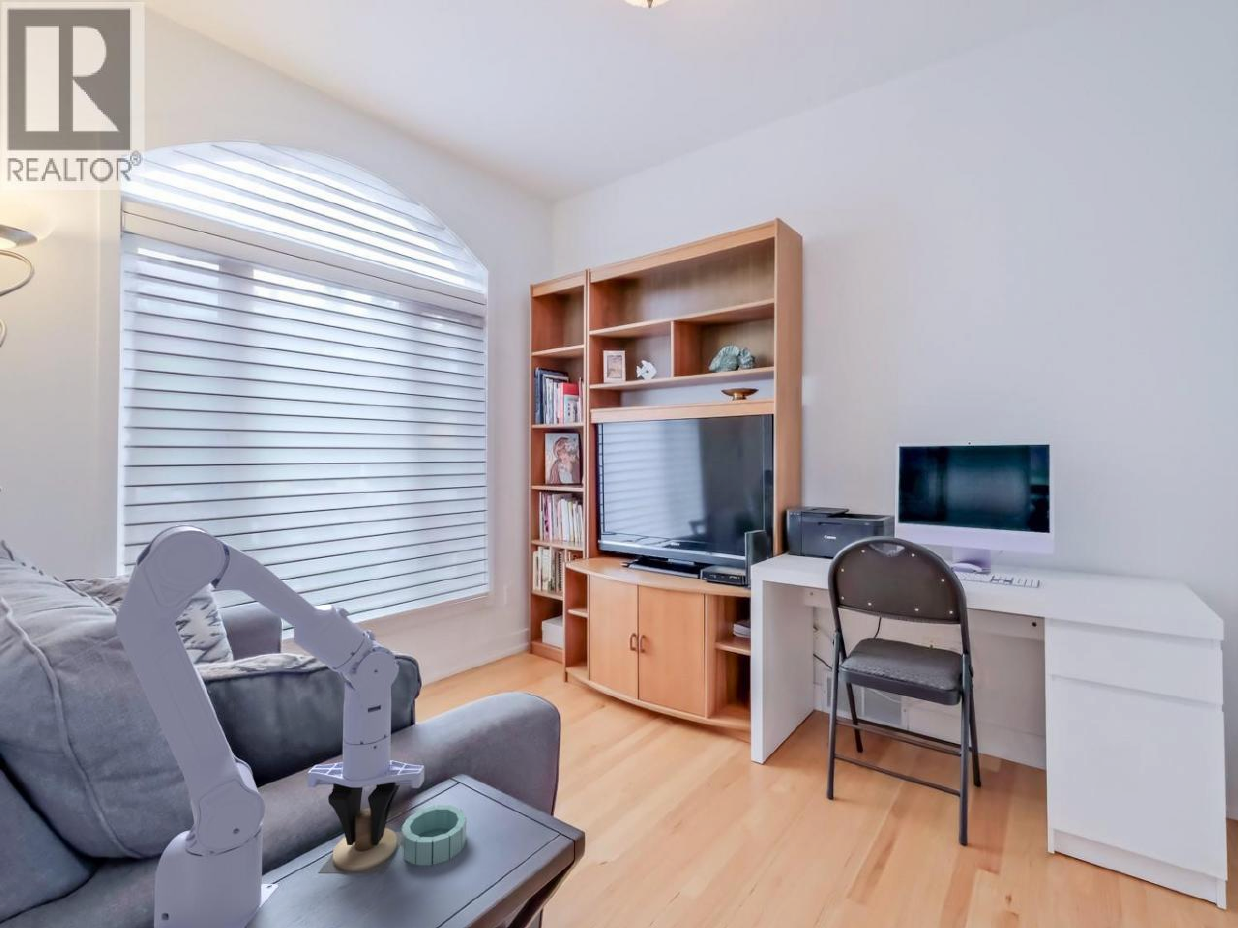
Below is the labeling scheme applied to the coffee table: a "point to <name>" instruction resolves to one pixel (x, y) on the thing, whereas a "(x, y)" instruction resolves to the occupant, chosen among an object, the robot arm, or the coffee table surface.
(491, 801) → the coffee table surface
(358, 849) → the lid
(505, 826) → the coffee table surface
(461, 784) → the coffee table surface
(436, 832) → the bowl
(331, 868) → the mat
